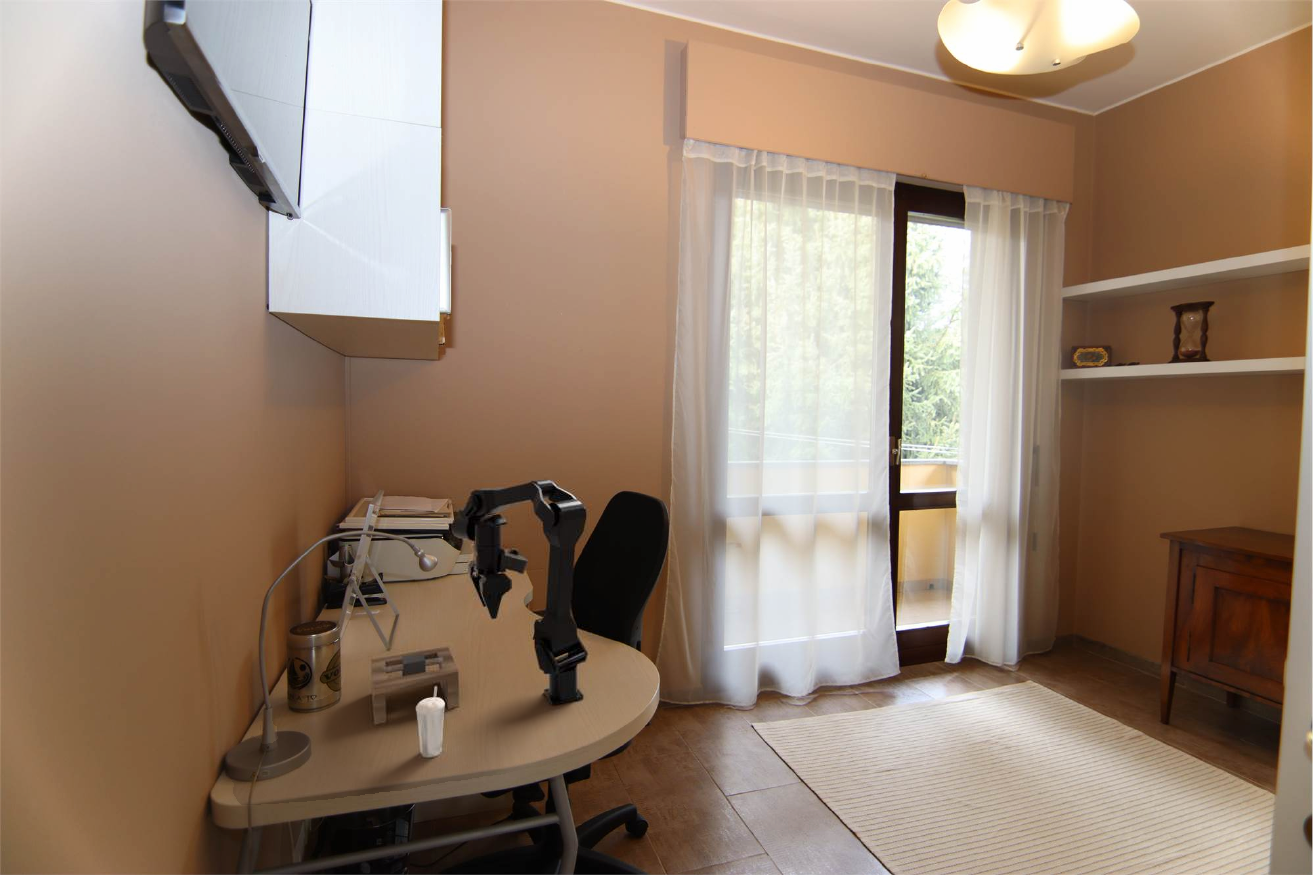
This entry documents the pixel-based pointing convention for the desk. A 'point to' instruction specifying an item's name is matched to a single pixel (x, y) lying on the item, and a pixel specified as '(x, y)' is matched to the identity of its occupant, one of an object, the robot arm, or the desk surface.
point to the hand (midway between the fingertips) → (489, 612)
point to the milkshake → (430, 725)
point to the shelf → (413, 678)
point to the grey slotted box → (413, 664)
